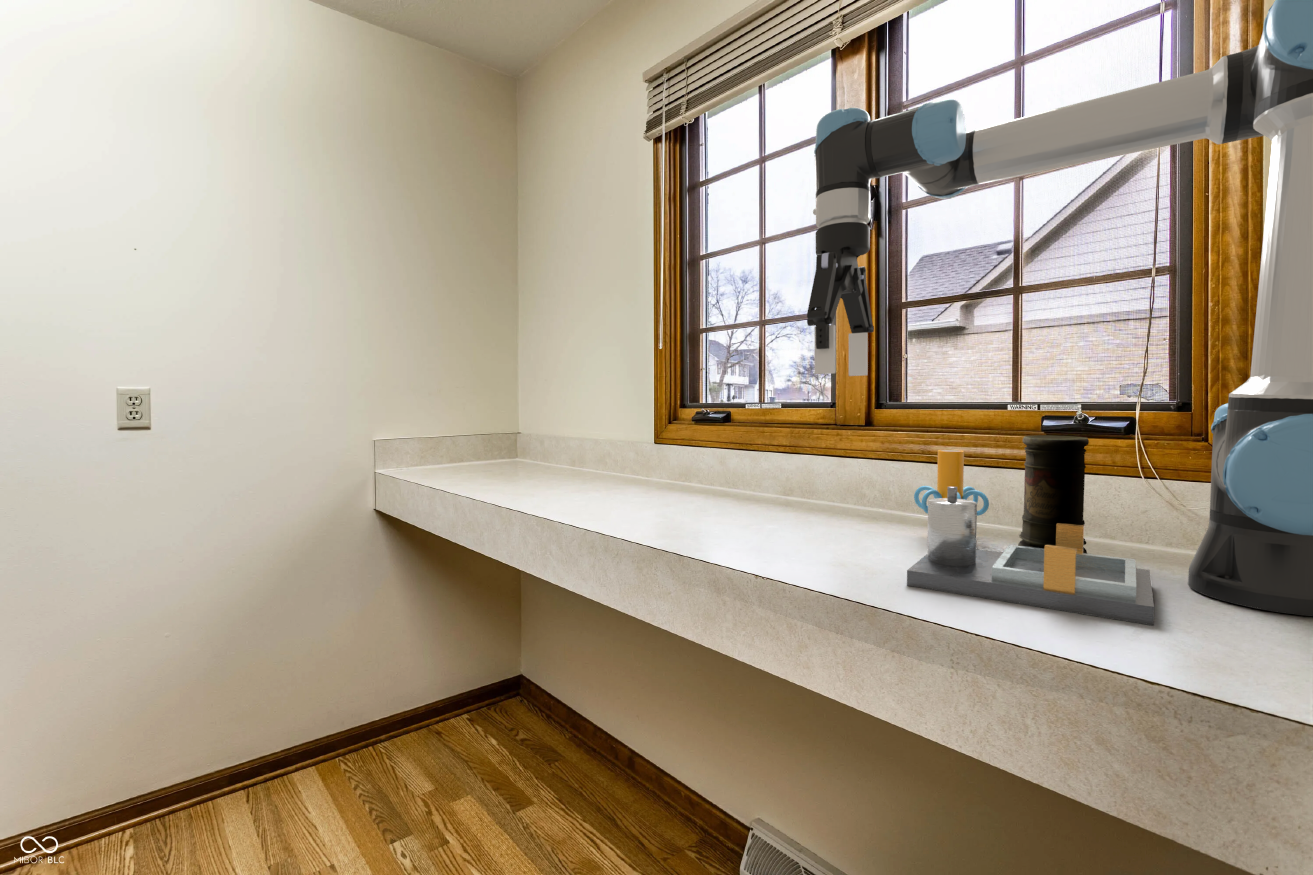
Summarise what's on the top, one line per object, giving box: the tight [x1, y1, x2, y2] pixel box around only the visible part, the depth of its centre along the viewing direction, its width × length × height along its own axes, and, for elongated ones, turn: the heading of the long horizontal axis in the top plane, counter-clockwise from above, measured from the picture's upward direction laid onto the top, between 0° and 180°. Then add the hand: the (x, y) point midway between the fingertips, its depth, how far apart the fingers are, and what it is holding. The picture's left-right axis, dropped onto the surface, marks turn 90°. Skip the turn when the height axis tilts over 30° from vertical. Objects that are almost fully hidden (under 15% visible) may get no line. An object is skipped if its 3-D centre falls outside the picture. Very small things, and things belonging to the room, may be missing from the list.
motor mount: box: [906, 487, 1155, 626], centre depth 80 cm, size 25×17×12 cm
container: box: [1017, 434, 1090, 554], centre depth 95 cm, size 9×9×18 cm
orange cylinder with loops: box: [913, 449, 990, 517], centre depth 107 cm, size 12×10×15 cm
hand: (842, 375), depth 92 cm, fingers open, 13 cm apart
